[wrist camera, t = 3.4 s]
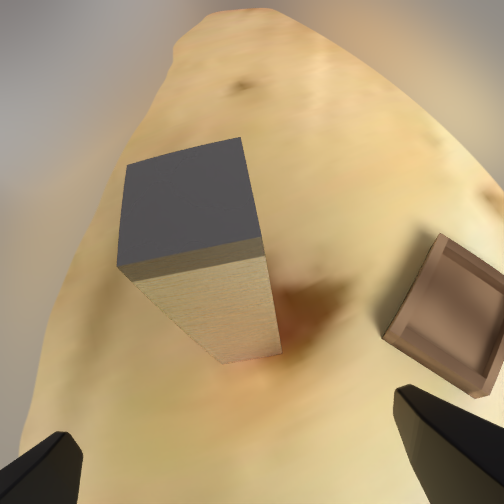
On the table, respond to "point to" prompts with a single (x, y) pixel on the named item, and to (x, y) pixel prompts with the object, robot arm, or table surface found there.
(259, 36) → the table surface
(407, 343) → the tray
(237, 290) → the brushed steel post
